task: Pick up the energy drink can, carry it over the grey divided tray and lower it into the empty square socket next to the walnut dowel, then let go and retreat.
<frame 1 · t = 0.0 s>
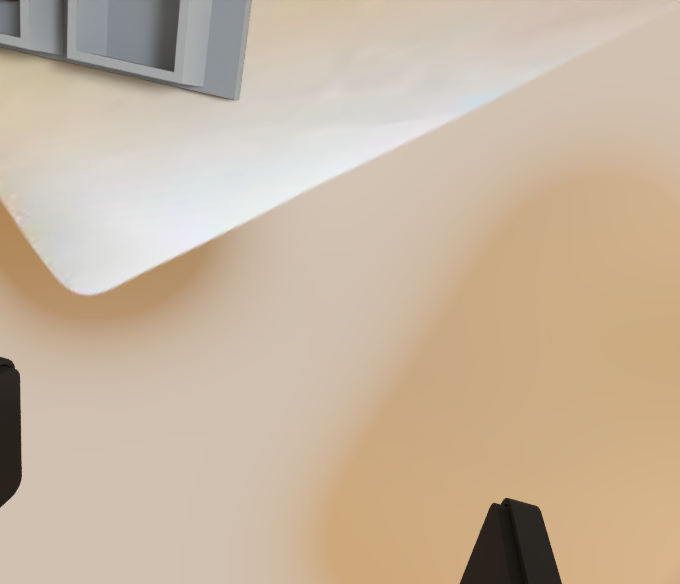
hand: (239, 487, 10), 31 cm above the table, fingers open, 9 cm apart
grey divided tray: (90, 0, 37), on the table
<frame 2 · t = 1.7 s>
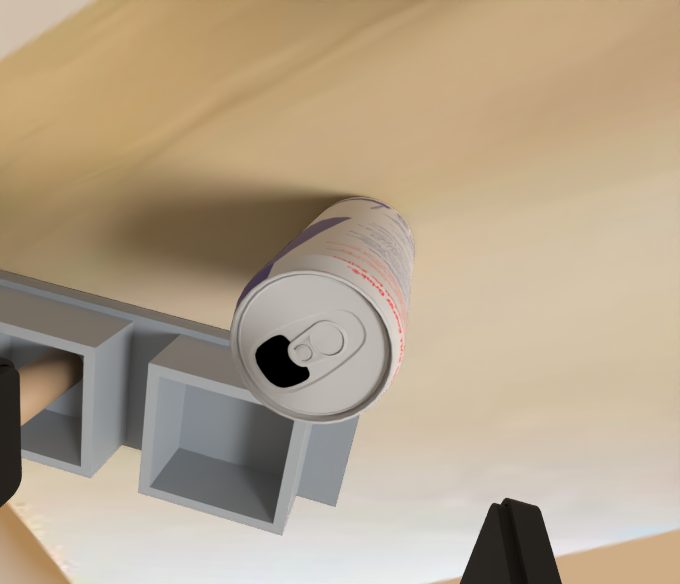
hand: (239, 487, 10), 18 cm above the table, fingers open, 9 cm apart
grey divided tray: (160, 381, 31), on the table
energy drink: (362, 247, 26), on the table
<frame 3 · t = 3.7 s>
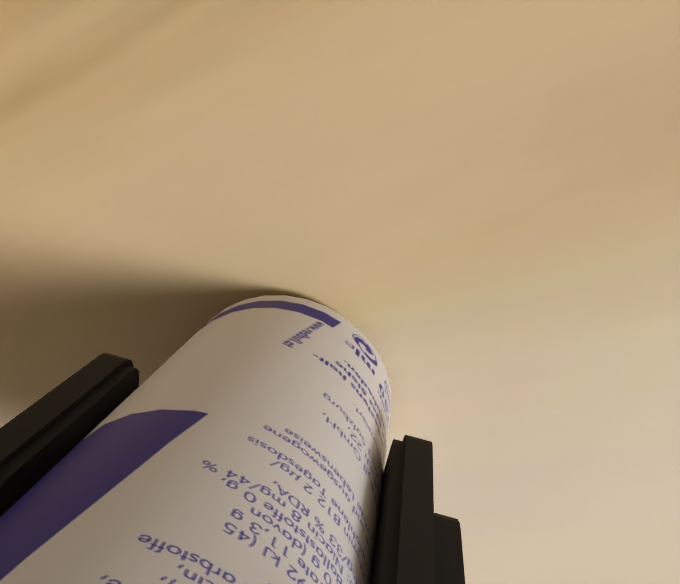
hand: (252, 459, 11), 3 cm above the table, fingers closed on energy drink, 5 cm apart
energy drink: (291, 383, 14), on the table, touching gripper
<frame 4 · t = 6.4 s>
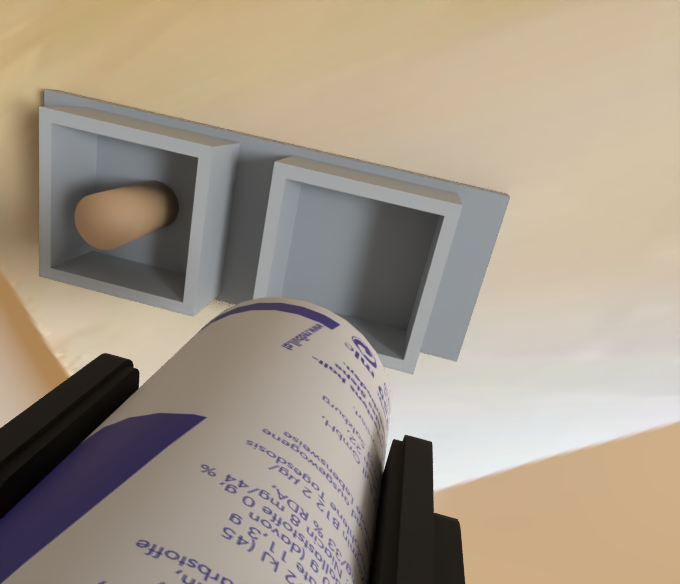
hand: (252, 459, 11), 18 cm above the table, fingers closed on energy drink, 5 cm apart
grey divided tray: (260, 224, 28), on the table
energy drink: (290, 385, 14), point 15 cm above the table, touching gripper
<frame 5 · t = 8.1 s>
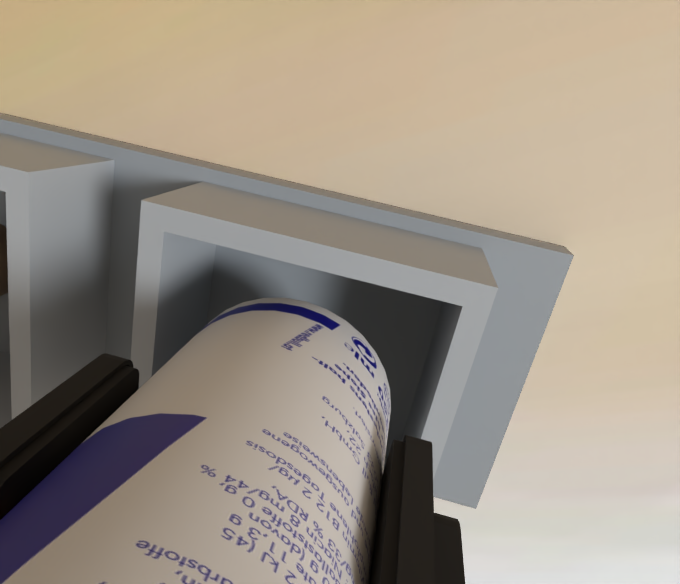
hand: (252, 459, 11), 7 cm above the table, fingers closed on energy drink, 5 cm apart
grey divided tray: (163, 287, 17), on the table
energy drink: (290, 385, 14), point 4 cm above the table, touching gripper
when the fingers open (5 cm above the table, at t = 9.3 s): energy drink drops 1 cm, resting on grey divided tray.
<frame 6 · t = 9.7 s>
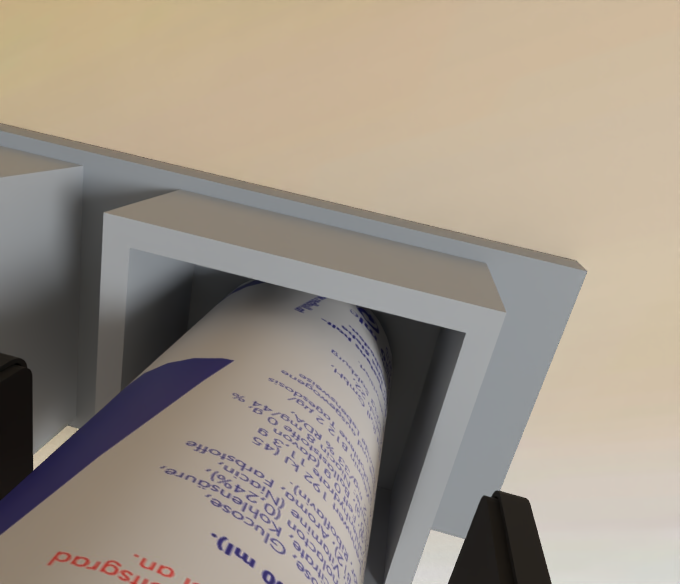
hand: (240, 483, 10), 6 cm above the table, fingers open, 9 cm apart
grey divided tray: (140, 303, 16), on the table
energy drink: (301, 354, 15), point 1 cm above the table, touching grey divided tray
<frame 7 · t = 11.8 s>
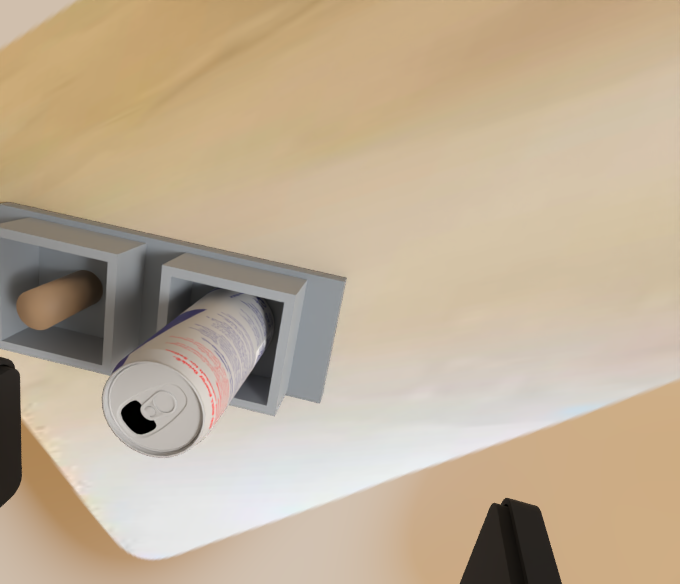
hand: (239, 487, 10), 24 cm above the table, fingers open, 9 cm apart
grey divided tray: (167, 300, 36), on the table
energy drink: (238, 319, 35), point 1 cm above the table, touching grey divided tray
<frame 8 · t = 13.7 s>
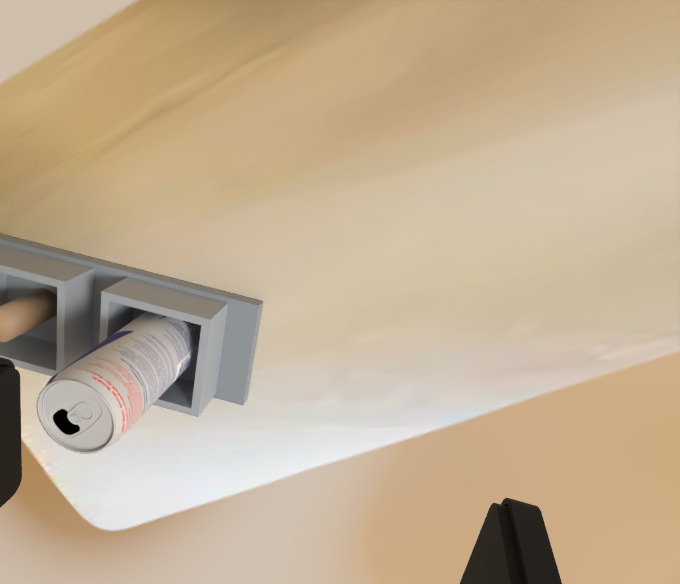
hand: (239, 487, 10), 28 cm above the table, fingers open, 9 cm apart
grey divided tray: (116, 315, 42), on the table
energy drink: (173, 333, 41), point 1 cm above the table, touching grey divided tray
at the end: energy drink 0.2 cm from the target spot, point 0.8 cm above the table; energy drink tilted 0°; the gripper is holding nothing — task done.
